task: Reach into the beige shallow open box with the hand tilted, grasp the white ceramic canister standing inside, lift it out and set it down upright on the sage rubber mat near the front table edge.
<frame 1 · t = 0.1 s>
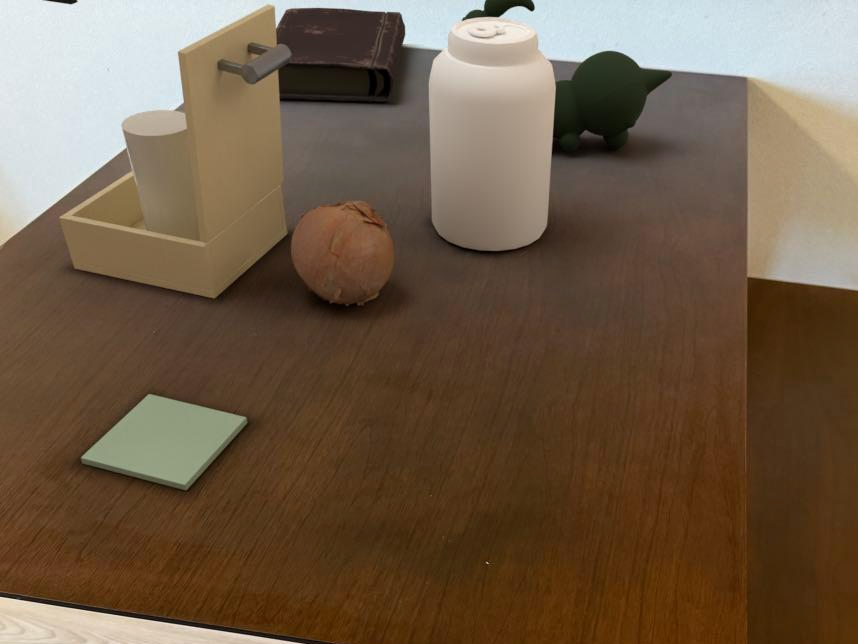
toy figurine: (562, 147, 122), on the table
beige shallow open box: (184, 250, 98), on the table
onion: (346, 296, 93), on the table
mat: (167, 442, 76), on the table
can: (489, 229, 105), on the table
diary: (336, 72, 139), on the table
canister: (183, 243, 98), point 1 cm above the table, touching beige shallow open box
bin lid: (256, 129, 87), point 14 cm above the table, hinge at 95.0°
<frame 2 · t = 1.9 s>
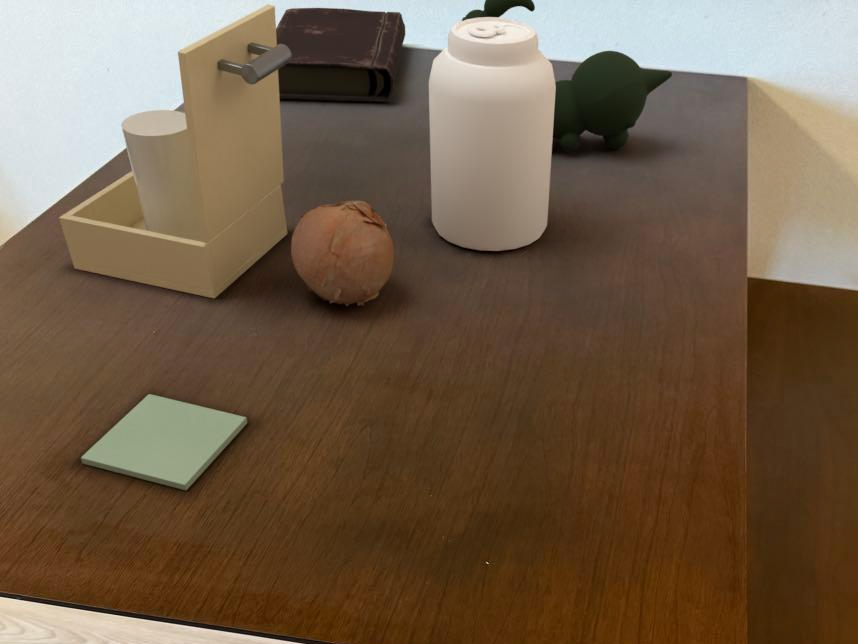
nothing on the table moved.
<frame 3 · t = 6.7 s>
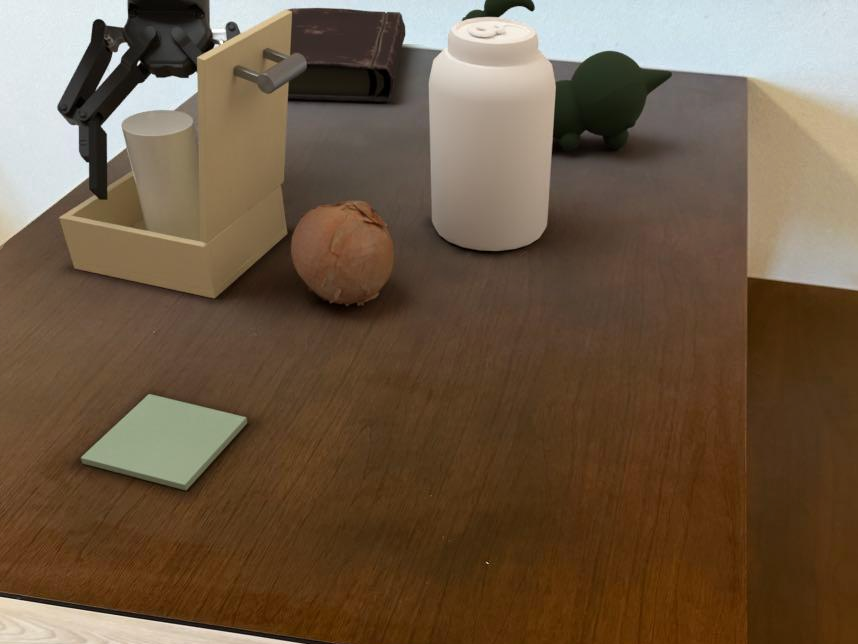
hand: (170, 195, 93), 6 cm above the table, tool tilted 45°, fingers open, 13 cm apart
bin lid: (264, 134, 87), point 13 cm above the table, hinge at 101.0°, touching gripper
everything else where it was.
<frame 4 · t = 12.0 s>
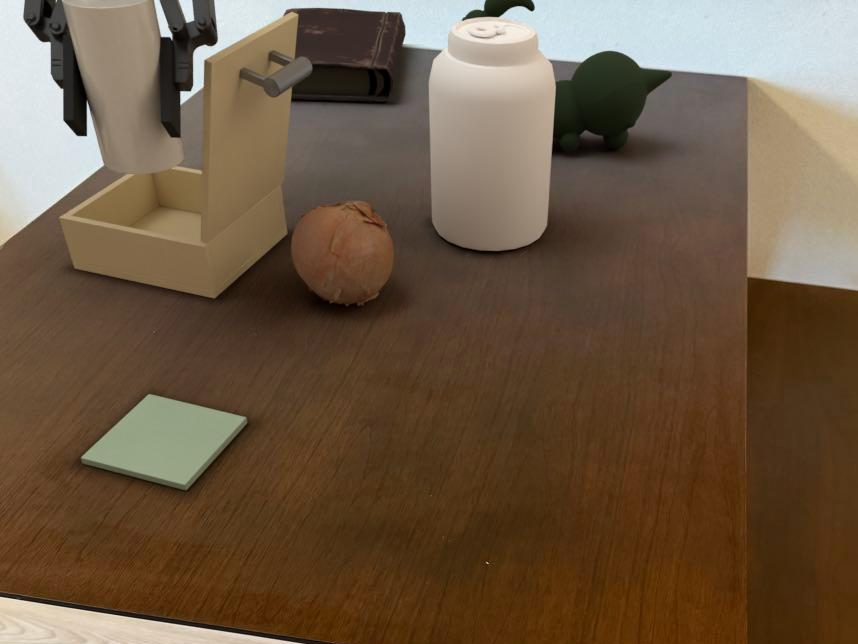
hand: (123, 128, 74), 18 cm above the table, tool tilted 45°, fingers closed on canister, 6 cm apart
canister: (144, 158, 79), point 15 cm above the table, touching gripper
bin lid: (268, 136, 87), point 13 cm above the table, hinge at 103.1°
everything else where it was.
when the fingers open (4 cm above the table, at t = 18.6 s): canister stays where it is, resting on mat.
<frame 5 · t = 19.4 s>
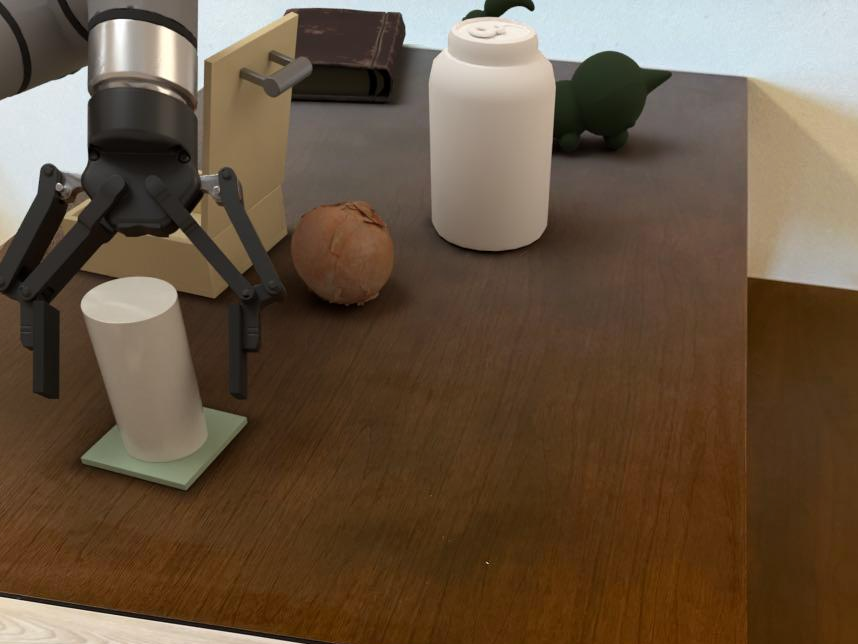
hand: (142, 396, 70), 6 cm above the table, tool tilted 45°, fingers open, 13 cm apart
canister: (166, 436, 75), point 1 cm above the table, touching mat
everything else where it was.
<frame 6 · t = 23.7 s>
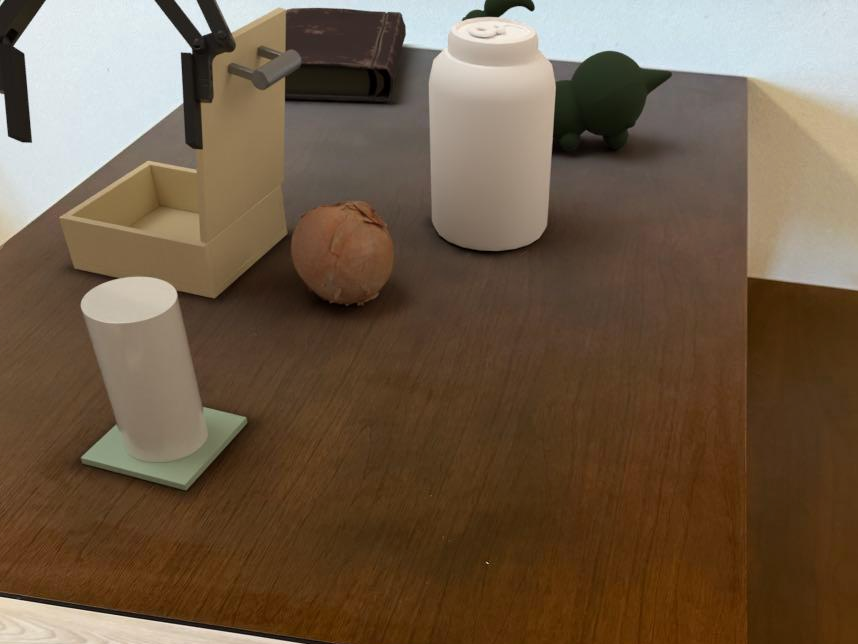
hand: (108, 143, 76), 17 cm above the table, tool tilted 30°, fingers open, 12 cm apart
bin lid: (261, 132, 87), point 14 cm above the table, hinge at 98.8°, touching gripper
everything else where it was.
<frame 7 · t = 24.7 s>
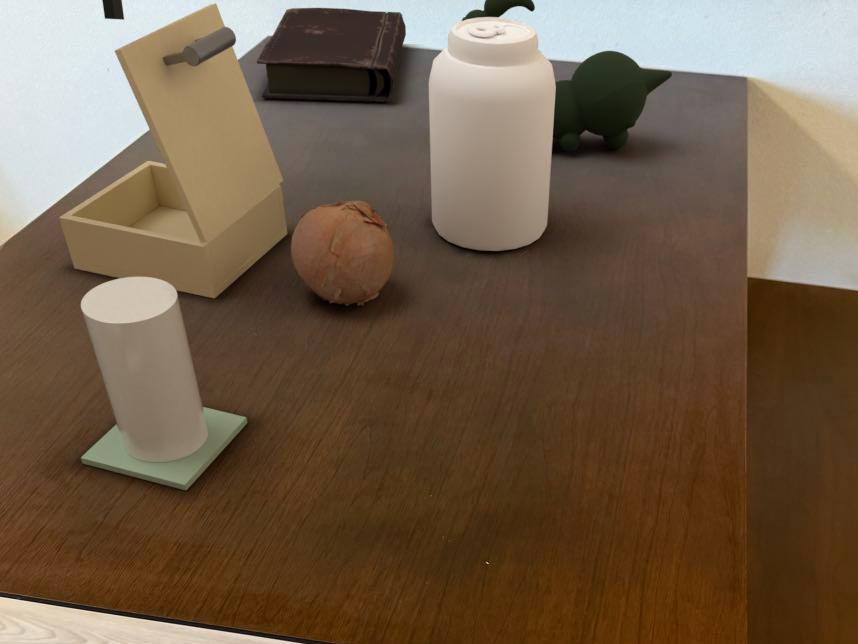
hand: (26, 16, 76), 24 cm above the table, tool tilted 15°, fingers open, 13 cm apart
bin lid: (225, 120, 87), point 14 cm above the table, hinge at 73.7°
everything else where it was.
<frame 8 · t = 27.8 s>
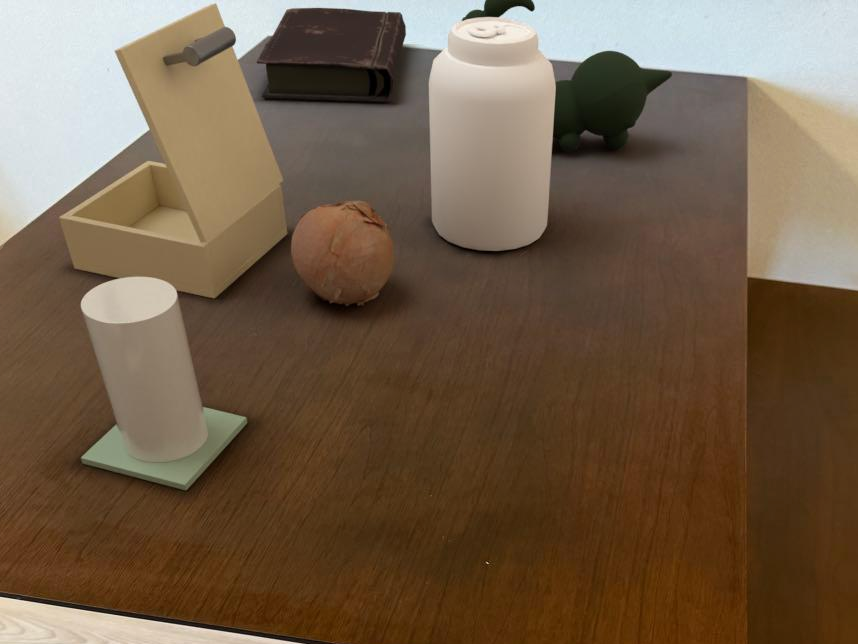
nothing on the table moved.
at the end: canister inside the target area on the mat (0.0 cm from its centre), point 0.6 cm above the mat's base; canister tilted 0°; canister touching mat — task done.
